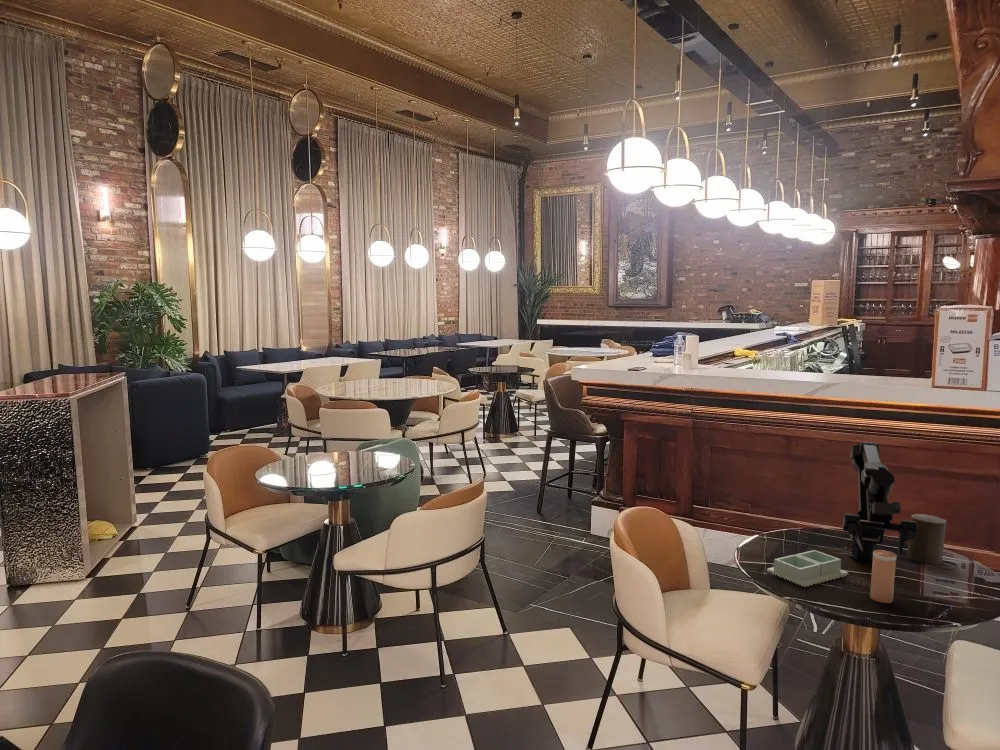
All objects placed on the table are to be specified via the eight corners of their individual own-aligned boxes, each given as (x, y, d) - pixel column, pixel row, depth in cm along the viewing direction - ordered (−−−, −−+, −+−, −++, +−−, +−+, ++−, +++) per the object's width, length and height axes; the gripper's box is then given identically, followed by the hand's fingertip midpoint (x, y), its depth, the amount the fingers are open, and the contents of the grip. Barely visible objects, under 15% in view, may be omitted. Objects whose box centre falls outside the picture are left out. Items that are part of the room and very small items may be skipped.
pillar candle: (915, 563, 219) (920, 517, 217) (901, 553, 228) (906, 508, 227) (948, 566, 217) (953, 520, 216) (933, 555, 227) (937, 511, 226)
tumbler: (881, 594, 194) (885, 549, 193) (897, 602, 188) (901, 556, 187) (865, 595, 192) (868, 550, 191) (880, 603, 187) (884, 557, 186)
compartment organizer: (809, 561, 218) (810, 547, 218) (848, 575, 207) (849, 560, 207) (767, 571, 209) (767, 557, 208) (804, 587, 197) (805, 571, 197)
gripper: (846, 486, 201) (848, 534, 191) (920, 493, 194) (925, 543, 185) (841, 506, 209) (843, 553, 199) (912, 513, 202) (917, 562, 193)
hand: (881, 552), depth 194 cm, fingers open, 9 cm apart
